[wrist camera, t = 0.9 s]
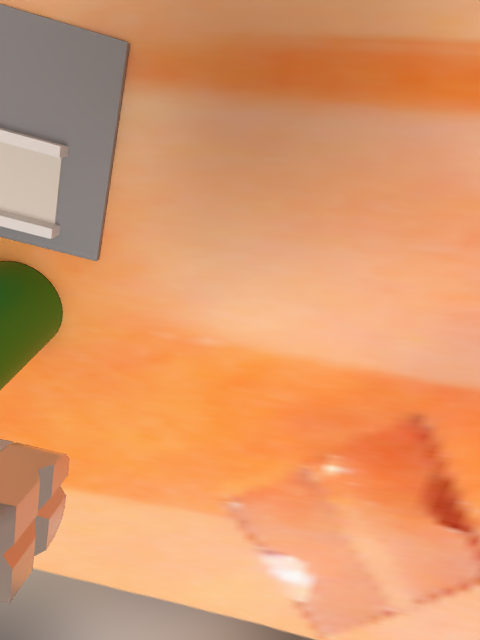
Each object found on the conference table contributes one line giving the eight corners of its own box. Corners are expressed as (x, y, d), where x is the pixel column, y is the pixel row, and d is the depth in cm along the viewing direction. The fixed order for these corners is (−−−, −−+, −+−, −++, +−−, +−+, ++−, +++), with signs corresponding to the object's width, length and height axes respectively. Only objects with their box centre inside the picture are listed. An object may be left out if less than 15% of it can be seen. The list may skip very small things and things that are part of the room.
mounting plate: (-56, -12, 37) (-79, -24, 34) (130, 44, 38) (121, 36, 35) (-58, 219, 44) (-77, 224, 41) (99, 259, 45) (90, 266, 43)
